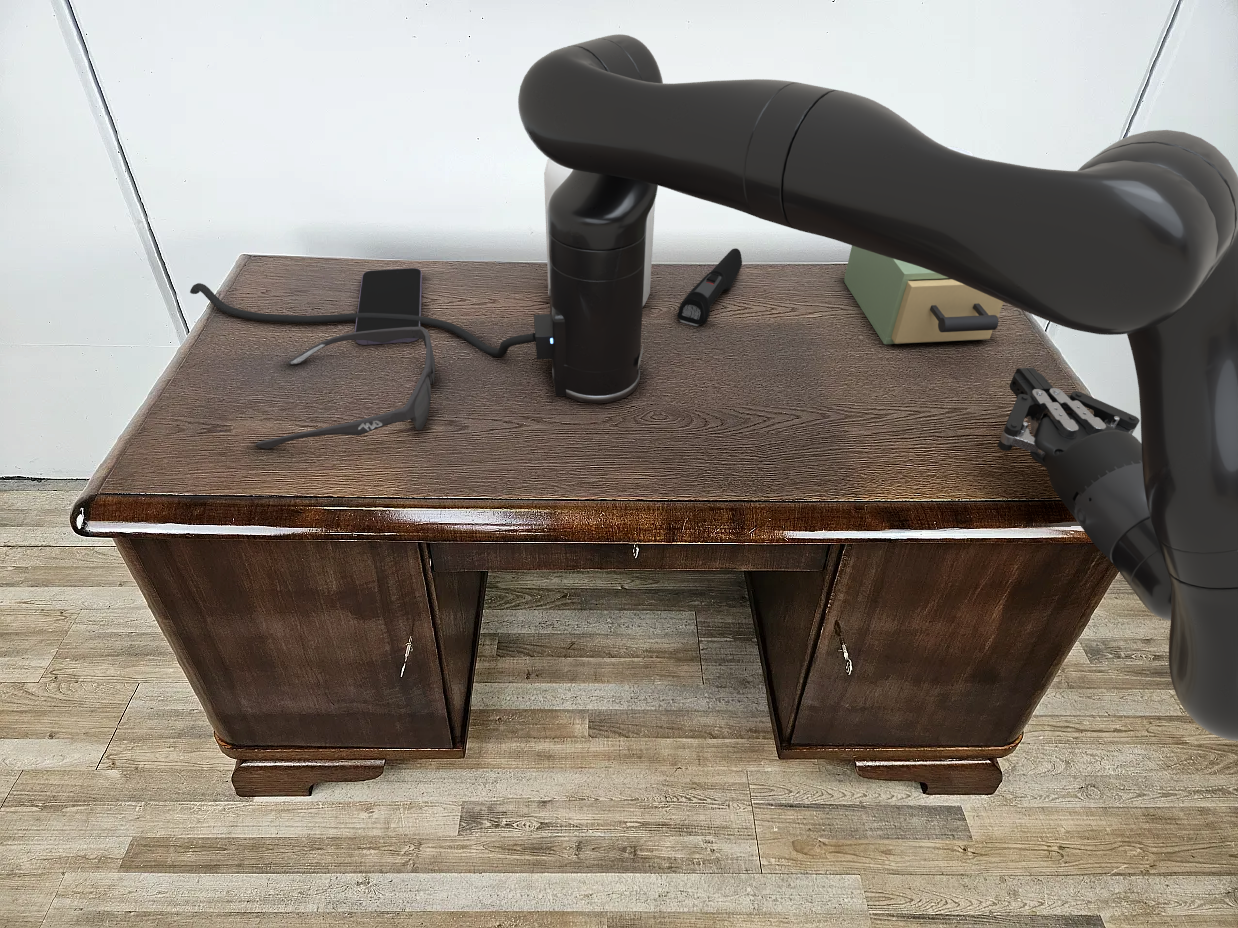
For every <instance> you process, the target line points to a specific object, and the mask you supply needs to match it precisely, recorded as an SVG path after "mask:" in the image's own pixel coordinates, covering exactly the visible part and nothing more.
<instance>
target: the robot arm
mask: <svg viewBox="0 0 1238 928" xmlns="http://www.w3.org/2000/svg"><path fill="white" fill-rule="evenodd" d="M518 91H519V92H518V97H517V100H518V101H517V104H518V105H517V107H518V114H519V118H520V121H521V123H522V126H523V129H524V131H525V133H526V134H527V136H528V138H529V140H530V141H531V142H532V143H533V145H534V146H535V147H536V149H538V150H539V151H540V153H542V155H544V156H545V157H546V158H548V159H551V160H552V161H553V162H555V163H557V164H559V165H561V166H563V167H566V168H569V169H573V170H572V172H571V173H570V175H569V176H568V177H567V178H566V180H565V181H564V182H563V183H562V184H561V185H560V186H559V187H558V188H557V189H556V190H555V191H554V193H553V194H552V196H551V198H550V200H549V203H548V237H549V265H550V289H549V295H548V298H549V313H542V314H541V313H540V314H533V322H534V323H533V324H534V325H533V327H534V332H531V333H525V334H519V335H514V336H511V337H508V338H506V339H504V340H502V341H501V342H500V344H499V347H493V346H490V345H489V344H486V343H485V342H484V341H482V340H480V339H479V338H477V337H476V336H475V335H473V334H472V333H471V332H469V331H467V330H466V329H464V328H462V327H460V326H459V325H457V324H454V323H452V322H448V321H445V320H441V319H438V318H433V317H429V316H423V315H421V316H414V315H403V314H383V313H357V312H350V313H335V314H333V313H332V314H319V315H318V314H316V315H301V314H297V315H296V314H279V313H278V314H276V313H275V314H274V313H265V312H264V313H263V312H257V311H250V310H246V309H241V308H238V307H234V306H231V305H229V304H227V303H225V302H224V301H222V300H221V299H220V298H219V297H218V295H216V294H215V293H214V291H212V290H211V289H210V288H209V287H208V286H207V285H206V284H204V283H201V282H198V283H195V284H193V285H192V287H191V288H190V290H189V293H190V294H191V295H197V294H199V293H201V294H203V296H204V297H205V298H206V299H207V300H208V301H209V302H210V303H211V304H212V305H213V306H214V307H215V308H217V309H218V310H219V311H221V312H222V313H225V314H227V315H229V316H233V317H235V318H239V319H245V320H249V321H255V322H256V321H257V322H263V323H264V322H265V323H280V324H281V323H282V324H301V325H303V324H305V325H308V324H311V325H314V324H317V325H318V324H333V323H334V324H335V323H348V322H356V319H357V318H358V317H371V318H394V319H408V320H417V321H420V324H421V326H429V327H433V328H436V329H442V330H444V331H447V332H450V333H452V334H454V335H456V336H458V337H460V338H461V339H463V340H464V341H466V342H467V343H469V344H471V345H472V346H473V347H475V348H476V349H478V350H480V351H482V352H484V353H485V354H487V355H489V356H492V357H494V358H495V357H496V358H502V357H504V356H505V355H507V354H508V353H507V352H508V350H509V349H510V348H512V347H514V346H519V345H524V344H525V345H526V344H530V343H534V344H535V353H536V354H535V356H536V360H538V361H542V360H551V368H552V369H551V373H552V374H551V375H552V382H553V389H554V396H556V397H568V398H569V399H571V400H574V401H578V402H581V403H588V404H606V403H611V402H612V403H613V402H616V401H620V400H622V399H624V398H626V397H628V396H629V395H631V394H632V393H633V392H634V391H635V390H636V389H637V388H638V386H639V384H640V381H641V361H642V356H643V353H644V345H642V326H643V324H642V323H643V308H644V306H643V288H644V268H645V248H646V228H647V217H648V214H649V212H650V210H651V208H652V206H653V204H654V201H655V202H656V198H657V195H658V188H659V187H662V188H665V189H668V190H671V191H674V192H677V193H680V194H683V195H686V196H689V197H693V198H696V199H699V200H702V201H707V202H709V203H713V204H715V205H719V206H723V207H726V208H730V209H733V210H736V211H739V212H742V213H745V214H747V215H750V216H753V217H755V218H758V219H760V220H764V221H767V222H770V223H773V224H777V225H780V226H784V227H787V228H789V229H793V230H796V231H800V232H803V233H808V234H812V235H816V236H820V237H824V238H827V239H831V240H834V241H837V242H841V243H844V244H847V245H849V246H851V247H852V246H855V247H858V248H861V249H864V250H867V251H870V252H873V253H877V254H880V255H883V256H886V257H889V258H893V259H896V260H900V261H903V262H907V263H910V264H913V265H916V266H919V267H922V268H925V269H928V270H930V271H933V272H936V273H938V274H941V275H943V276H945V277H948V278H950V279H953V280H955V281H957V282H960V283H962V284H964V285H966V286H969V287H971V288H973V289H975V290H978V291H980V292H982V293H985V294H987V295H989V296H991V297H994V298H996V299H998V300H1001V301H1003V302H1004V303H1005V304H1007V305H1010V306H1012V307H1014V308H1017V309H1018V310H1021V311H1022V312H1023V311H1024V312H1026V313H1028V314H1030V315H1033V316H1035V317H1038V318H1040V319H1043V320H1046V321H1047V322H1050V323H1053V324H1055V325H1058V326H1060V327H1063V328H1068V329H1070V330H1074V331H1079V332H1084V333H1089V334H1095V335H1104V336H1114V335H1115V336H1116V335H1126V336H1127V339H1128V343H1129V346H1130V350H1131V354H1132V359H1133V363H1134V368H1135V373H1136V379H1137V387H1138V397H1139V411H1140V415H1139V416H1140V418H1139V417H1138V416H1136V415H1133V414H1131V413H1129V412H1127V411H1124V410H1122V409H1120V408H1118V407H1115V406H1113V405H1110V404H1109V403H1106V402H1103V401H1102V400H1099V399H1097V398H1095V397H1093V396H1091V395H1088V394H1087V393H1084V392H1081V391H1072V392H1071V394H1067V393H1065V392H1064V391H1063V390H1061V389H1059V388H1056V387H1054V386H1053V385H1052V384H1051V383H1050V382H1049V381H1048V379H1047V378H1046V377H1045V375H1043V374H1042V373H1040V372H1039V371H1038V370H1036V369H1035V367H1017V368H1016V369H1015V372H1014V373H1013V376H1012V378H1011V380H1010V383H1009V385H1008V386H1009V390H1010V391H1011V392H1012V393H1013V395H1014V396H1015V397H1016V399H1015V401H1014V404H1013V405H1012V406H1013V407H1012V408H1011V411H1010V413H1009V415H1008V418H1007V419H1006V423H1005V425H1004V428H1003V430H1002V433H1001V435H1000V437H999V439H998V443H997V448H998V449H999V450H1001V451H1004V452H1011V451H1012V449H1013V447H1016V448H1019V449H1021V450H1024V451H1028V452H1029V454H1030V457H1031V458H1032V460H1034V461H1035V462H1036V463H1038V464H1039V465H1041V466H1042V467H1044V468H1045V470H1046V472H1047V475H1048V478H1049V482H1050V486H1051V488H1052V490H1053V492H1054V493H1055V494H1056V495H1057V497H1058V498H1059V499H1060V500H1061V502H1062V503H1063V505H1064V506H1065V508H1066V509H1067V510H1068V512H1069V513H1070V514H1071V515H1072V517H1073V518H1074V519H1075V521H1076V522H1077V524H1078V525H1079V526H1080V528H1081V529H1082V530H1083V532H1084V533H1085V534H1086V535H1087V537H1088V538H1089V540H1090V541H1091V542H1092V543H1093V544H1094V546H1095V547H1096V548H1097V549H1098V550H1099V551H1100V552H1101V553H1102V554H1103V555H1104V556H1105V557H1106V558H1107V559H1108V560H1109V561H1110V562H1111V563H1112V564H1113V565H1114V567H1115V568H1116V570H1117V571H1118V572H1119V574H1120V575H1121V576H1122V578H1123V579H1124V580H1125V583H1127V584H1128V586H1129V587H1130V589H1131V590H1132V591H1133V592H1134V594H1135V595H1136V596H1137V598H1138V599H1139V600H1140V602H1141V603H1142V604H1143V606H1144V607H1145V608H1146V609H1147V610H1148V611H1149V612H1150V613H1151V614H1153V615H1154V616H1156V617H1157V618H1159V619H1162V620H1165V621H1170V625H1169V626H1170V627H1169V636H1168V637H1169V638H1168V668H1169V675H1170V680H1171V683H1172V687H1173V690H1174V693H1175V695H1176V697H1177V699H1178V701H1179V703H1180V705H1181V706H1182V707H1183V709H1184V711H1185V712H1186V714H1187V715H1188V716H1189V717H1190V718H1191V719H1192V720H1193V721H1194V722H1195V724H1197V725H1198V726H1199V727H1201V728H1202V729H1203V730H1205V731H1206V732H1208V733H1210V734H1212V735H1214V736H1216V737H1219V738H1220V739H1225V740H1229V741H1235V742H1238V174H1237V172H1236V170H1235V169H1234V167H1233V165H1232V164H1231V162H1230V161H1229V159H1228V158H1227V157H1226V156H1225V155H1224V154H1223V153H1222V151H1220V150H1219V149H1218V148H1217V147H1216V146H1214V145H1213V144H1211V143H1210V142H1208V141H1206V140H1205V139H1203V138H1202V137H1199V136H1196V135H1194V134H1191V133H1187V132H1185V131H1179V130H1172V129H1159V130H1158V129H1157V130H1147V131H1143V132H1139V133H1136V134H1131V135H1129V136H1126V137H1122V138H1121V139H1119V140H1118V141H1115V142H1113V143H1112V144H1110V145H1108V146H1106V147H1105V148H1104V149H1102V150H1101V151H1099V152H1098V153H1097V154H1096V155H1094V156H1093V157H1092V158H1090V159H1089V160H1088V161H1086V162H1085V163H1084V164H1083V165H1082V166H1080V167H1079V168H1078V169H1077V170H1064V169H1063V170H1062V169H1051V168H1041V167H1033V166H1027V165H1020V164H1016V163H1015V164H1014V163H1010V162H1003V161H998V160H991V159H986V158H981V157H977V156H974V155H973V156H970V155H966V154H963V153H960V152H957V151H954V150H952V149H949V148H947V147H948V146H945V145H943V144H942V143H939V142H937V141H935V140H934V139H933V138H931V137H929V136H928V135H926V134H925V133H924V132H922V131H921V130H920V129H919V128H917V127H916V126H914V125H913V124H912V123H911V122H909V121H908V120H907V119H905V118H904V117H902V116H901V115H900V114H899V113H897V112H895V111H894V110H892V109H890V108H889V107H887V106H885V105H883V104H882V103H880V102H877V100H873V99H871V98H869V97H867V96H863V95H860V94H856V93H853V92H849V91H844V90H839V89H834V88H829V87H824V86H820V85H815V84H809V83H804V82H798V81H792V80H781V79H767V78H766V79H764V78H762V79H761V78H753V79H752V78H749V79H746V78H745V79H728V80H725V79H724V80H706V81H694V82H692V81H691V82H677V83H666V82H665V83H664V81H663V76H662V73H661V70H660V67H659V65H658V61H657V60H656V58H655V56H654V55H653V53H652V52H651V50H650V49H649V48H648V46H646V45H645V43H644V42H643V41H641V40H640V39H638V38H635V37H634V36H631V35H629V34H622V33H621V34H610V35H606V36H605V35H604V36H601V37H598V38H597V37H596V38H594V39H589V40H586V41H581V42H578V43H574V44H571V45H568V46H563V47H560V48H558V49H554V50H553V51H550V52H549V53H546V54H545V55H544V56H542V57H540V58H539V59H538V60H536V61H535V62H534V63H533V64H532V65H531V66H530V67H529V69H528V70H527V72H526V73H525V75H524V77H523V79H522V81H521V83H520V85H519V90H518ZM1089 410H1090V411H1093V413H1091V412H1090V411H1089ZM1025 418H1026V419H1027V421H1028V422H1027V421H1025ZM1029 423H1030V429H1029V428H1028V426H1029ZM1139 423H1140V440H1139V439H1138V438H1137V437H1136V436H1135V435H1133V434H1134V432H1135V431H1136V428H1137V426H1138V425H1139Z"/></svg>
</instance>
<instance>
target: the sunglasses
mask: <svg viewBox="0 0 1238 928" xmlns="http://www.w3.org/2000/svg"><path fill="white" fill-rule="evenodd" d="M404 338H415V339H418V340H422V342H423V344H424V347H425V359H424V366H423V367H424V368H423V371H422V372H421V375H420V377H419V379H418V381H417V383H416V385H415V387H414V389H413V391H412V393H411V394H410V396H409V398H408V400H407V401H406V404H405V405H404V406H403V407H401V408H394V410H390V411H387V412H384V413H380V414H376V415H373V416H369V417H365V418H362V419H358V420H353V421H349V422H343V423H339V424H334V425H330V426H324V427H321V428H316V429H310V430H305V431H301V432H297V433H292V434H288V435H283V436H279V437H273V438H269V439H265V440H264V439H263V440H261V441H258V442H255V446H257V447H258V448H260V449H265V450H269V449H272V448H275V447H277V446H280V445H282V444H284V443H288V442H292V441H295V440H301V439H307V438H315V437H321V436H322V437H323V436H335V435H336V436H337V435H338V436H339V435H341V436H357V437H358V436H359V437H360V436H362V435H365V434H367V433H369V432H371V431H375V430H377V429H380V428H383V427H387V426H390V425H394V424H397V423H401V422H406V421H409V420H410V422H411V423H413V425H414V428H415V429H416V430H418V431H421V430H422V429H423V428H424V427H425V425H426V423H427V421H428V419H429V414H430V409H431V401H432V399H431V398H432V389H431V388H432V386H431V385H435V379H436V361H435V353H434V349H433V344H432V339H431V335H430V333H429V331H428V330H427V329H426V328H425V327H423V326H421V327H402V328H391V329H380V330H370V331H361V332H355V331H353V332H350V333H349V332H348V333H344V334H340V335H336V336H333V337H330V338H327V339H325V340H322V341H320V342H318V343H317V344H315V345H312V346H311V347H309V348H308V349H306V350H304V351H302V352H301V353H299V354H298V355H296V356H294V357H293V358H292V359H290V360H289V361H288V362H287V365H291V366H295V365H300V364H302V363H303V362H305V361H306V360H307V359H308V358H310V357H311V356H312V355H314V354H315V353H317V352H318V351H320V350H321V349H323V348H326V347H327V346H330V345H334V344H336V343H341V342H347V341H348V342H349V341H356V340H367V341H374V342H379V343H385V342H389V341H392V340H396V339H404Z"/></svg>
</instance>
